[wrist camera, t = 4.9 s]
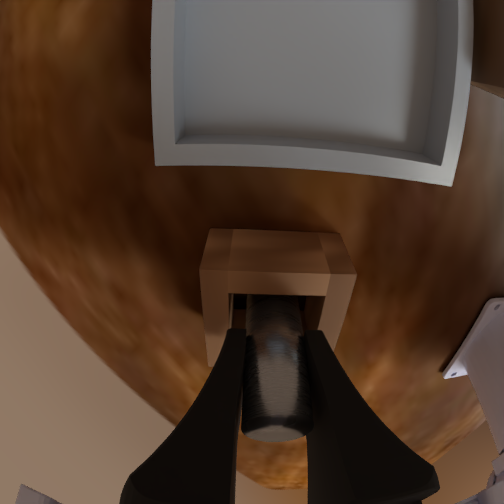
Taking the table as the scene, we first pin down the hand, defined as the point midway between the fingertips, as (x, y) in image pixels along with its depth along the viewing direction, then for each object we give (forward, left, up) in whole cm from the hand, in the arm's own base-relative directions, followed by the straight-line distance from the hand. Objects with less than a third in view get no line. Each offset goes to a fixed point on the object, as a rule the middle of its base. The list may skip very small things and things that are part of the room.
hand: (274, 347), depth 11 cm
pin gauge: (0, 0, -2) cm, 2 cm away
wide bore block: (0, 0, -4) cm, 4 cm away
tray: (-1, -11, -4) cm, 12 cm away
